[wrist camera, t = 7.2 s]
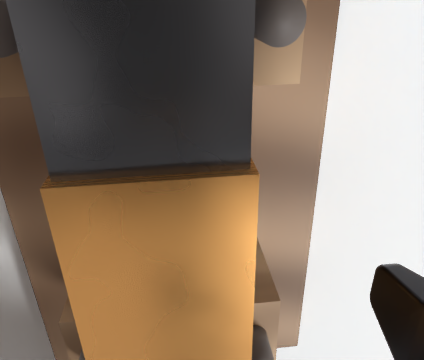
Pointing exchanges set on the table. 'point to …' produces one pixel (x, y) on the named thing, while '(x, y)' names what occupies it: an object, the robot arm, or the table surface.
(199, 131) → the spanner bar
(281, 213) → the tool rack
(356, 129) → the table surface
